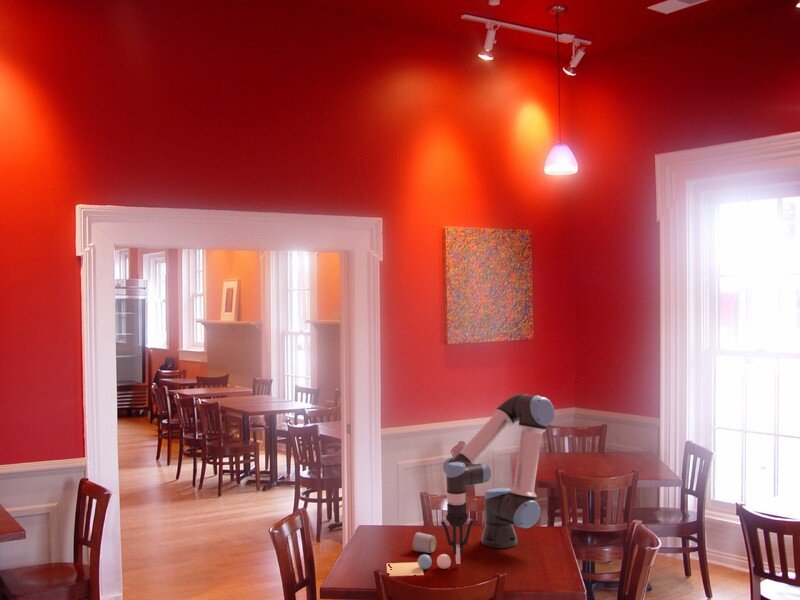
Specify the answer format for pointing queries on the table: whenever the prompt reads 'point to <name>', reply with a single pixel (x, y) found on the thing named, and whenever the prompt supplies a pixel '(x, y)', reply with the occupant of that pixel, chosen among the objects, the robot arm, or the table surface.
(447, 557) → the cue ball
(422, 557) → the object ball
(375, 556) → the table surface
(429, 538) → the ceramic mug
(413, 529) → the table surface
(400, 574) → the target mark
